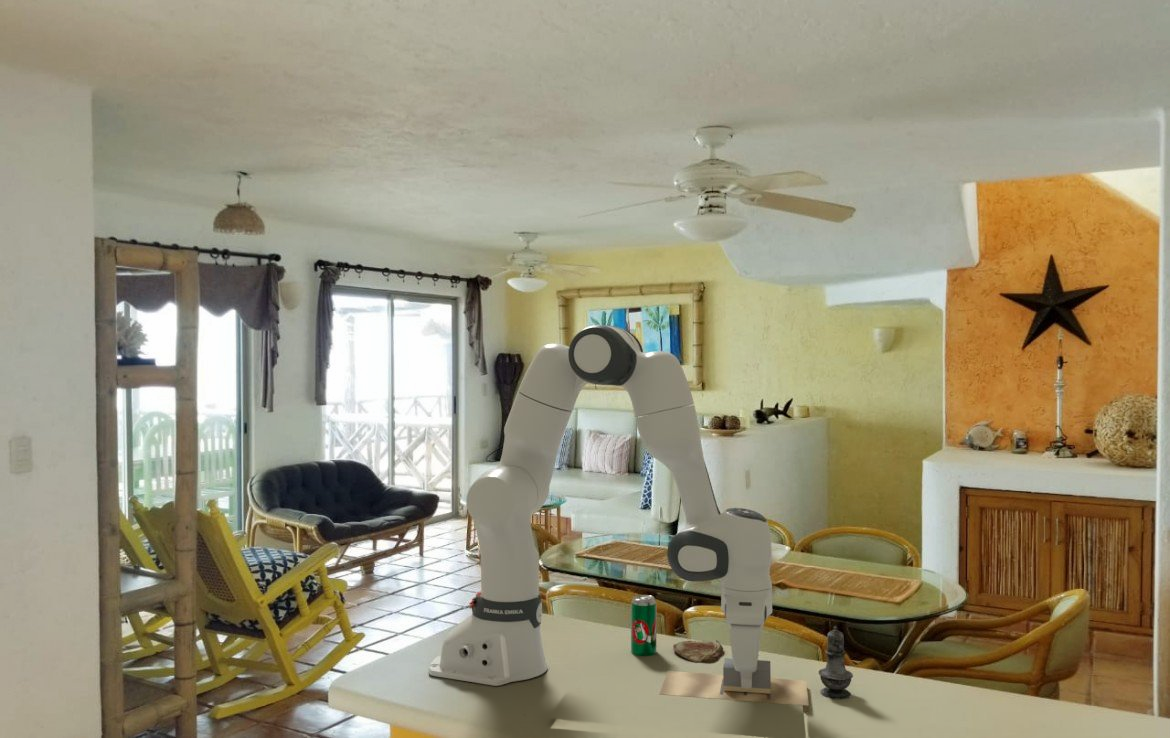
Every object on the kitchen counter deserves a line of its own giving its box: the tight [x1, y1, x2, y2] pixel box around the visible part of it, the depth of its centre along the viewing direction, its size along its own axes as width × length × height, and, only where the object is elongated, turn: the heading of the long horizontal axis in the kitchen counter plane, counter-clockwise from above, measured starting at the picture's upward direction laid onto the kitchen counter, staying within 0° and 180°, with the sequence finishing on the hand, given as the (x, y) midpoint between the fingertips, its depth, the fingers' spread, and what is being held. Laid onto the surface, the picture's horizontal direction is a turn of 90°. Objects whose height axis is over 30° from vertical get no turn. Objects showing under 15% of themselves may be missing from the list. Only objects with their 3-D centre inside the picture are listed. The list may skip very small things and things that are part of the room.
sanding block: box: [722, 657, 772, 694], centre depth 152 cm, size 8×5×4 cm, turn 78°
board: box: [659, 670, 810, 714], centre depth 152 cm, size 25×12×1 cm, turn 78°
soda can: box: [630, 594, 657, 657], centre depth 172 cm, size 5×5×12 cm
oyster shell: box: [672, 639, 724, 664], centre depth 172 cm, size 13×10×3 cm
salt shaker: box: [818, 625, 854, 700], centre depth 152 cm, size 6×6×12 cm
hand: (747, 680), depth 151 cm, fingers closed on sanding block, 5 cm apart
